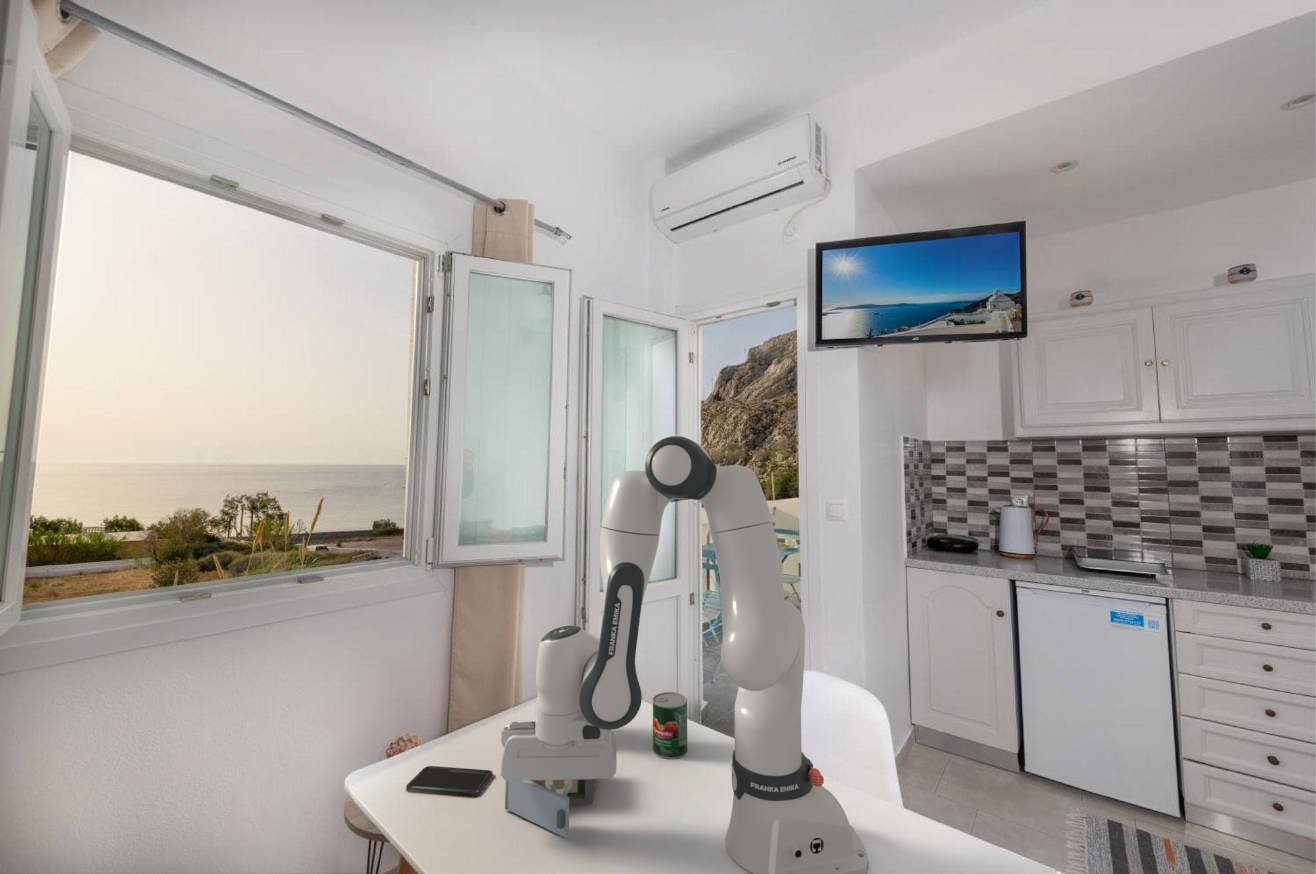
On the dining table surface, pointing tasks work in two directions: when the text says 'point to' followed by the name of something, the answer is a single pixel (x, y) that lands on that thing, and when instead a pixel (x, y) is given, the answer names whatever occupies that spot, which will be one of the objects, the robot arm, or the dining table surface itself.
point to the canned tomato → (670, 725)
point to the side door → (538, 805)
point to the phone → (450, 781)
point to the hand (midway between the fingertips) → (559, 802)
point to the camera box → (576, 790)
